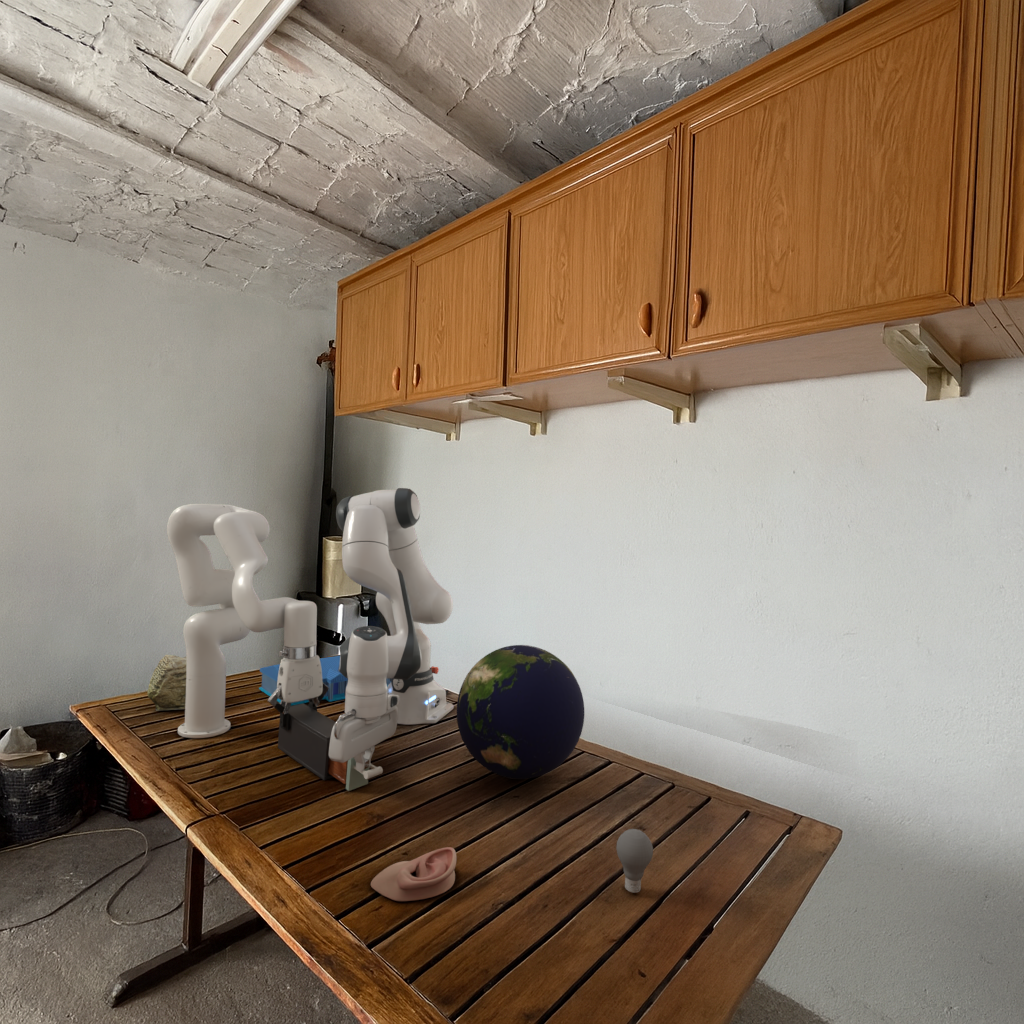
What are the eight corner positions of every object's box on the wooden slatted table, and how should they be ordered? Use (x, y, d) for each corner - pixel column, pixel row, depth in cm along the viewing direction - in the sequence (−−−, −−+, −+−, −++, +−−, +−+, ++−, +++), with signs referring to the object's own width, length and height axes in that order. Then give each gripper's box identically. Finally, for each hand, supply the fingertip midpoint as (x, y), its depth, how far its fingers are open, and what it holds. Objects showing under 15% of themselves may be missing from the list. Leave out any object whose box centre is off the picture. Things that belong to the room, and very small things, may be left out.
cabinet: (348, 772, 146) (351, 730, 146) (324, 780, 141) (327, 737, 141) (300, 741, 160) (303, 703, 159) (277, 748, 155) (280, 708, 154)
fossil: (144, 707, 182) (145, 655, 182) (212, 696, 194) (213, 647, 194) (151, 716, 175) (153, 662, 175) (221, 703, 188) (223, 653, 188)
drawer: (383, 793, 137) (386, 757, 136) (363, 801, 133) (366, 763, 132) (319, 752, 153) (322, 719, 152) (300, 758, 149) (303, 724, 149)
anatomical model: (363, 870, 101) (391, 834, 112) (362, 895, 101) (390, 856, 113) (442, 884, 99) (463, 845, 110) (441, 909, 99) (462, 868, 110)
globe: (430, 785, 141) (436, 651, 140) (486, 740, 168) (491, 628, 168) (558, 816, 130) (565, 670, 129) (595, 762, 157) (601, 642, 157)
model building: (289, 709, 186) (291, 675, 185) (258, 688, 204) (259, 657, 204) (403, 687, 212) (405, 657, 212) (366, 670, 230) (368, 643, 230)
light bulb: (610, 879, 108) (613, 822, 108) (644, 879, 109) (647, 822, 109) (619, 902, 102) (622, 840, 102) (655, 901, 103) (658, 840, 103)
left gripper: (274, 660, 146) (272, 738, 146) (339, 649, 158) (338, 720, 159) (258, 655, 151) (257, 730, 151) (323, 644, 163) (321, 713, 164)
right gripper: (348, 720, 125) (345, 790, 125) (403, 694, 144) (400, 755, 144) (322, 715, 127) (319, 783, 127) (379, 690, 147) (377, 750, 146)
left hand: (298, 724), depth 155 cm, fingers closed on cabinet, 6 cm apart
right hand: (363, 768), depth 136 cm, fingers closed, pressing on drawer
